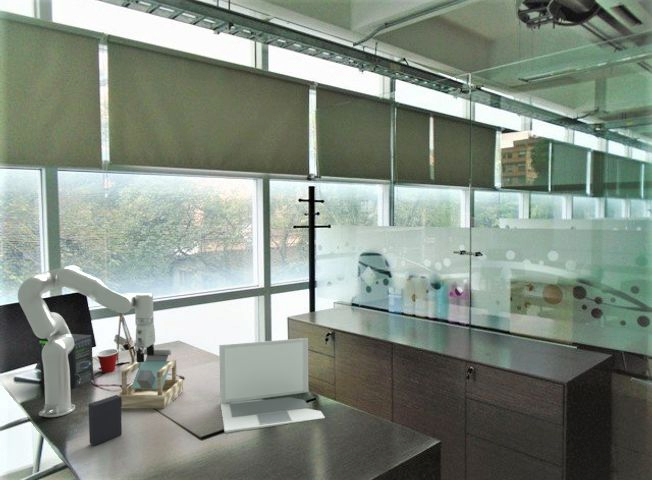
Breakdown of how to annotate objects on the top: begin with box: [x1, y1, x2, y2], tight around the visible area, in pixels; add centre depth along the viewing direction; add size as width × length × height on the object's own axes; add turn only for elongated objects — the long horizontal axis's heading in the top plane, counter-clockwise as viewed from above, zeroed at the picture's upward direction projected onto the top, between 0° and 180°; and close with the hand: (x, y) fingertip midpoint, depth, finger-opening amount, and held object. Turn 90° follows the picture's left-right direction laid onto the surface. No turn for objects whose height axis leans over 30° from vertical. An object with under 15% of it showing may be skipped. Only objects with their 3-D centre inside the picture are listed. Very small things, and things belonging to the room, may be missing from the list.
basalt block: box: [137, 370, 155, 388], centre depth 209 cm, size 5×5×6 cm
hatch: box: [131, 348, 172, 390], centre depth 215 cm, size 19×14×4 cm
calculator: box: [87, 394, 123, 446], centre depth 175 cm, size 11×4×15 cm, turn 143°
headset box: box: [38, 333, 94, 389], centre depth 235 cm, size 22×12×26 cm, turn 71°
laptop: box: [218, 337, 326, 434], centre depth 197 cm, size 40×29×28 cm
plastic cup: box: [95, 348, 119, 374], centre depth 249 cm, size 11×11×12 cm
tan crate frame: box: [115, 359, 184, 409], centre depth 213 cm, size 22×22×16 cm
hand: (145, 358), depth 208 cm, fingers open, 9 cm apart
